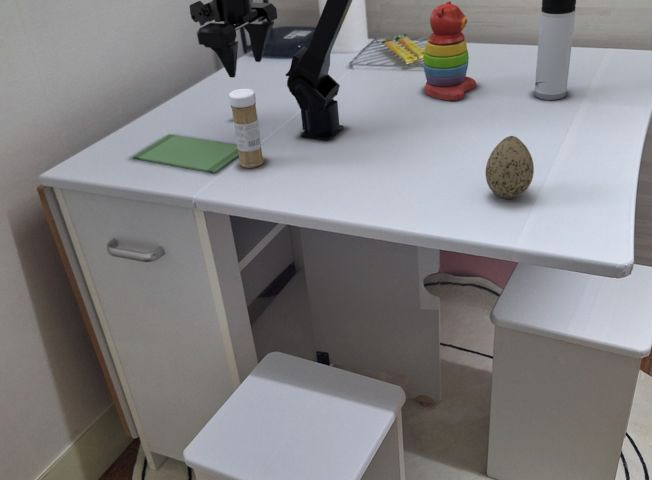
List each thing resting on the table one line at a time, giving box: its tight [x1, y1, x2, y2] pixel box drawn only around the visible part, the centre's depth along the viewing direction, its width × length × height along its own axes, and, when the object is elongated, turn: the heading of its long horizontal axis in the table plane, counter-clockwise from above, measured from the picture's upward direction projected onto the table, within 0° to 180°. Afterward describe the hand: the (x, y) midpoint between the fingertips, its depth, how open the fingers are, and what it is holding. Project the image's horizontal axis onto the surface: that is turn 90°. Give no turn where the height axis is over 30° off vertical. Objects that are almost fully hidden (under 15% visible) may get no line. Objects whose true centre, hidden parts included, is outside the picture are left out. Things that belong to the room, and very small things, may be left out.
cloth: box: [132, 134, 239, 174], centre depth 133 cm, size 20×11×1 cm, turn 60°
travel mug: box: [533, 0, 577, 101], centre depth 135 cm, size 6×7×20 cm
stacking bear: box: [422, 0, 477, 102], centre depth 143 cm, size 11×10×18 cm
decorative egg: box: [485, 135, 535, 200], centre depth 106 cm, size 7×7×10 cm
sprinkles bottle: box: [228, 88, 265, 169], centre depth 123 cm, size 5×5×14 cm
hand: (245, 69), depth 133 cm, fingers open, 9 cm apart
